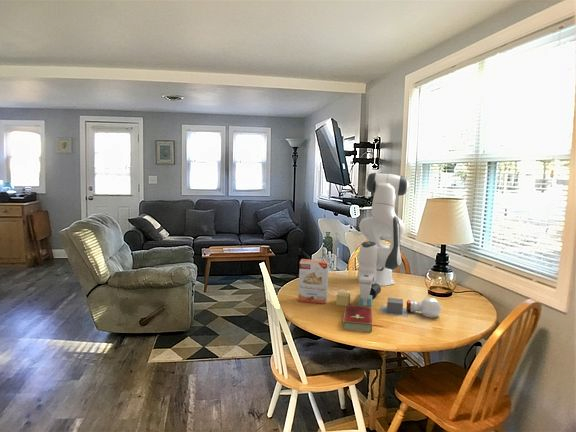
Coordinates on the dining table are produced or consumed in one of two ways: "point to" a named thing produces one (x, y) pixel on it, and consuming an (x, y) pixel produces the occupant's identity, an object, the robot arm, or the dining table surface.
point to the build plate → (404, 313)
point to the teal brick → (369, 301)
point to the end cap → (375, 290)
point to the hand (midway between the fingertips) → (365, 302)
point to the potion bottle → (425, 307)
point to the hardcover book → (358, 318)
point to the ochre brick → (342, 298)
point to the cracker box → (313, 281)
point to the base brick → (394, 305)
